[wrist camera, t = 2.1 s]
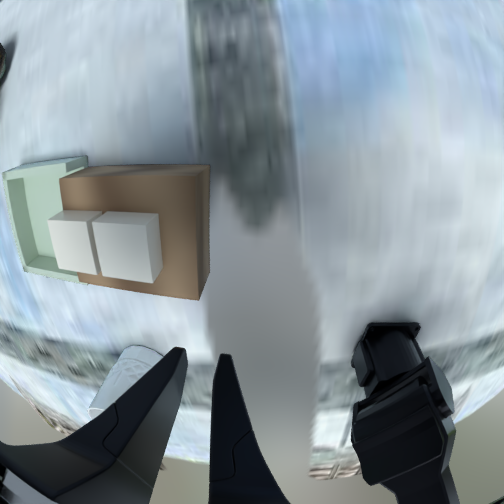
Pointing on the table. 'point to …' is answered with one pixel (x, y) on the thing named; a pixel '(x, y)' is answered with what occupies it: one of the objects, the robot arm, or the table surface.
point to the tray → (38, 212)
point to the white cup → (123, 376)
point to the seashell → (2, 60)
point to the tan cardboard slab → (152, 201)
